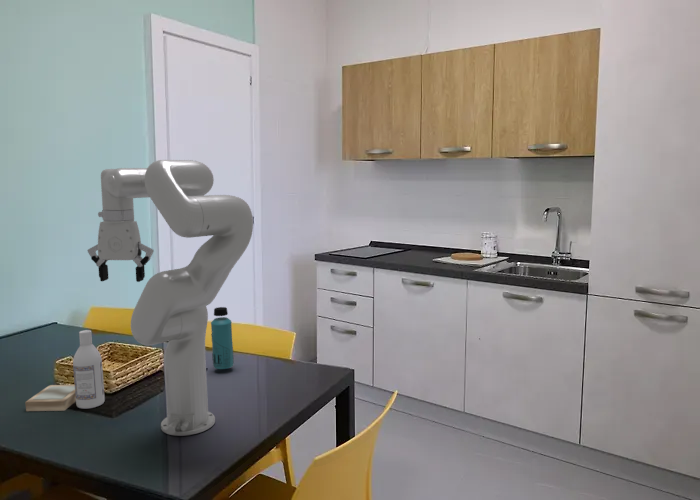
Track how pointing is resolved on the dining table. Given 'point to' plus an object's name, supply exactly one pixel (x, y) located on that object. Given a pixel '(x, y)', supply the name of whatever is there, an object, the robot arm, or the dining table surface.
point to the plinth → (52, 398)
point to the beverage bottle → (222, 340)
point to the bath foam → (88, 373)
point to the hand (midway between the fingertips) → (122, 280)
